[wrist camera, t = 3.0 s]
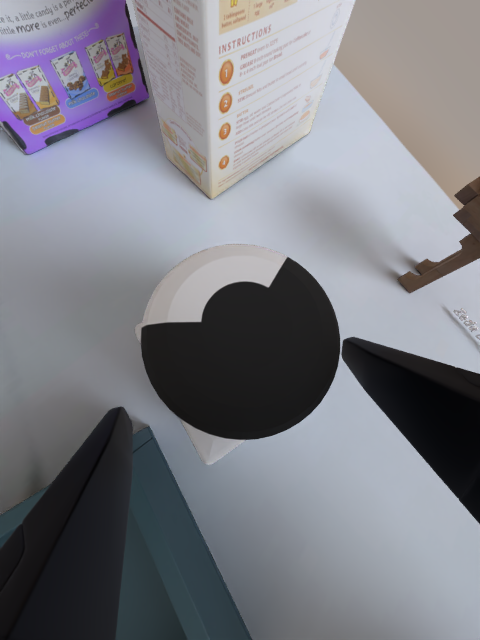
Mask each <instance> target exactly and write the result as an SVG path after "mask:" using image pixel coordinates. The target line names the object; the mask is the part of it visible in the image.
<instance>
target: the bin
mask: <svg viewBox="0 0 480 640" xmlns="http://www.w3.org/2000/svg"><path fill="white" fill-rule="evenodd" d="M50 485H51V484H50ZM50 485H49V486H50ZM49 486H47V487H46V488H44V489H42V490H41V491H39V492H37V493H36V494H34V495H33V496H31V497H29V498H28V499H26V500H24V501H23V502H21V503H20V504H18V505H16V506H15V507H13V508H11V509H10V510H8V511H7V512H5V513H3V514H2V515H0V548H1V547H2V546H3V544H4V543H5V542H6V541H7V539H8V538H9V537H10V536H11V534H12V533H13V532H14V531H15V529H16V528H17V527H18V525H19V524H22V521H23V519H24V518H25V517H26V515H27V514H28V513H29V512H30V510H31V509H32V508H33V507H34V505H35V504H36V503H37V501H38V500H39V499H40V498H41V496H42V495H43V494H44V493H45V491H46V490H47V489H48V487H49ZM115 640H252V638H251V636H250V634H249V632H248V630H247V628H246V626H245V624H244V622H243V620H242V618H241V615H240V613H239V611H238V609H237V607H236V605H235V603H234V601H233V599H232V597H231V595H230V593H229V591H228V588H227V586H226V584H225V582H224V580H223V578H222V576H221V574H220V572H219V570H218V568H217V566H216V564H215V561H214V559H213V557H212V555H211V553H210V551H209V549H208V547H207V545H206V543H205V541H204V539H203V536H202V534H201V532H200V530H199V528H198V526H197V524H196V522H195V520H194V518H193V516H192V514H191V512H190V509H189V507H188V505H187V503H186V501H185V499H184V497H183V495H182V493H181V491H180V489H179V487H178V485H177V482H176V480H175V478H174V476H173V474H172V472H171V470H170V468H169V466H168V464H167V462H166V460H165V457H164V455H163V453H162V451H161V449H160V447H159V445H158V443H157V441H156V439H155V437H154V435H153V433H152V430H151V428H150V427H149V426H148V427H146V428H144V429H143V430H141V431H139V432H137V433H135V434H133V473H132V484H131V494H130V503H129V513H128V523H127V532H126V542H125V552H124V561H123V571H122V581H121V590H120V600H119V610H118V619H117V629H116V639H115Z"/></svg>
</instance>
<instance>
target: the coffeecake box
mask: <svg viewBox="0 0 480 640" xmlns="http://www.w3.org/2000/svg"><path fill="white" fill-rule="evenodd" d="M354 3H355V0H133V5H134V10H135V14H136V19H137V23H138V28H139V33H140V37H141V42H142V47H143V51H144V56H145V60H146V65H147V69H148V74H149V78H150V83H151V87H152V92H153V97H154V101H155V105H156V110H157V114H158V119H159V124H160V129H161V133H162V137H163V142H164V146H165V150H166V155H167V158H168V159H169V160H170V161H171V162H172V163H173V164H174V165H175V166H176V167H177V168H178V169H179V170H180V171H182V172H183V173H184V174H186V175H187V176H188V177H189V178H190V179H191V180H192V181H193V182H194V183H195V184H196V185H197V187H198V188H200V189H201V190H202V191H203V192H204V193H205V194H206V195H207V196H208V197H209V198H210V199H213V198H215V197H216V196H218V195H219V194H221V193H222V192H223V191H225V190H226V189H228V188H229V187H231V186H232V185H234V184H235V183H237V182H238V181H240V180H241V179H242V178H244V177H245V176H247V175H248V174H250V173H251V172H253V171H254V170H256V169H257V168H259V167H260V166H261V165H263V164H264V163H266V162H267V161H269V160H270V159H272V158H273V157H275V156H276V155H277V154H279V153H280V152H282V151H283V150H285V149H286V148H287V147H289V146H290V145H292V144H293V143H295V142H296V141H298V140H299V139H301V138H302V137H304V136H305V135H306V134H308V133H309V132H310V129H311V126H312V123H313V120H314V117H315V114H316V111H317V108H318V106H319V103H320V100H321V97H322V94H323V91H324V88H325V86H326V83H327V80H328V77H329V74H330V72H331V69H332V66H333V63H334V60H335V57H336V55H337V52H338V49H339V46H340V43H341V40H342V37H343V35H344V32H345V29H346V26H347V23H348V21H349V18H350V15H351V12H352V9H353V6H354Z"/></svg>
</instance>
